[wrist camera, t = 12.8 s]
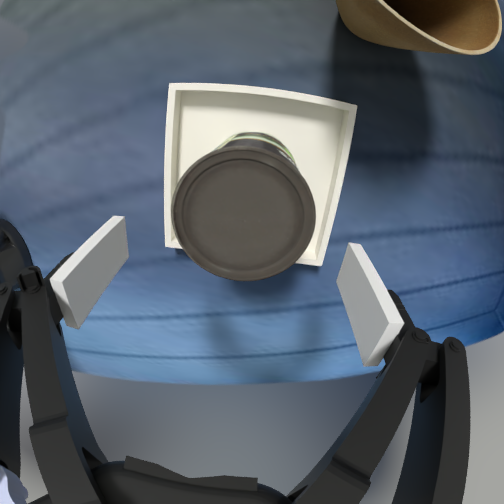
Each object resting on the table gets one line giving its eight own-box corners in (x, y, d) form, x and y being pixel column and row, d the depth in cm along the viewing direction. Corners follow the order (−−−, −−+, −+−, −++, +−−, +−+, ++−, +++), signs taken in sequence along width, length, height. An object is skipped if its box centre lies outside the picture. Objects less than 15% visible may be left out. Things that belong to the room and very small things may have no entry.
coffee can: (282, 118, 28) (294, 127, 16) (305, 201, 33) (328, 264, 20) (196, 146, 30) (148, 176, 18) (225, 223, 35) (202, 293, 22)
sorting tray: (172, 236, 37) (165, 246, 34) (177, 84, 27) (169, 83, 24) (317, 254, 37) (321, 266, 34) (349, 105, 27) (357, 105, 24)
